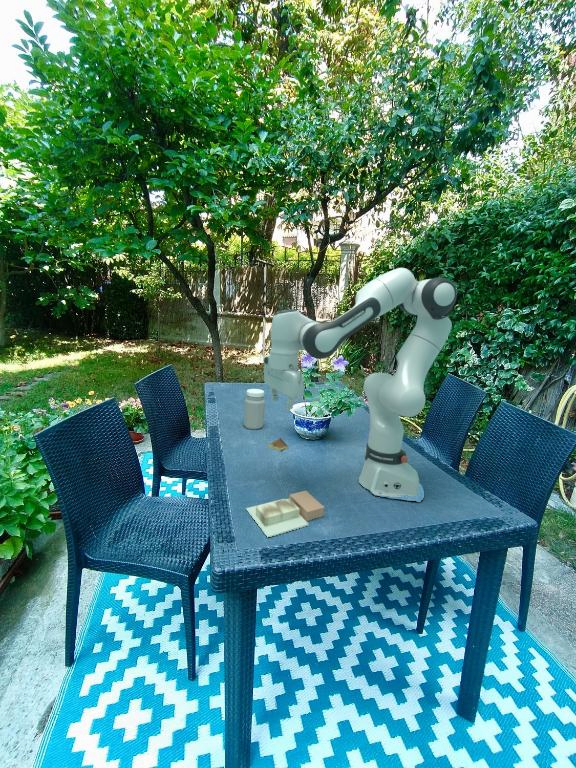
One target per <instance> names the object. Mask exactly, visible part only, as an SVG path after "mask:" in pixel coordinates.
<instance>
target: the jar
mask: <svg viewBox="0 0 576 768" xmlns="http://www.w3.org/2000/svg"><path fill="white" fill-rule="evenodd" d="M264 396H265V391H264V390H263V389H259V388H249V389H247V390H246V398H244V412H243V413H244V414H243V426H244V428H246V429H247V430H254V431H255V430H256V431H257V430H260V429H262V428H263V427H264V426H265V425H264V424H265V422H264V421H265V410H266V409H265V408H266V401H265V399H264V398H265V397H264Z"/></svg>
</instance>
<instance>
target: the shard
mask: <svg viewBox="0 0 576 768" xmlns="http://www.w3.org/2000/svg"><path fill="white" fill-rule="evenodd" d="M267 448H268V449H271V450H274V451H277V452H280V451H281V452H282V451H284V450H288V449H289V446H288V445H287V444H286V442H285V441H284V440H283V439H282V438H281V437H279V438H278V439H276V440H274V441H272V442H271V443H270V444H268V446H267Z"/></svg>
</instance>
